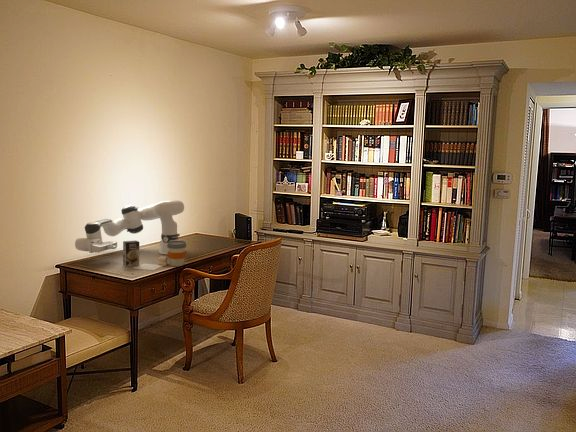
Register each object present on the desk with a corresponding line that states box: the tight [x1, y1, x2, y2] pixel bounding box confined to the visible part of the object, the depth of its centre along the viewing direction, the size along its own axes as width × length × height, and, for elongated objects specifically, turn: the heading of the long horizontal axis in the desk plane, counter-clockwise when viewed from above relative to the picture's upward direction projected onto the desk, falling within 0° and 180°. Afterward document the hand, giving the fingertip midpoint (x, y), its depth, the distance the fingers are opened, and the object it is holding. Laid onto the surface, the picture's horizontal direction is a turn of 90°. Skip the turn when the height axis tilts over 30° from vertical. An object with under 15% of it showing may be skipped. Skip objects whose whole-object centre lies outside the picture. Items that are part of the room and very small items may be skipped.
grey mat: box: [132, 263, 164, 271], centre depth 342 cm, size 14×14×1 cm
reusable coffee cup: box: [167, 240, 187, 267], centre depth 351 cm, size 13×13×15 cm
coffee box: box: [122, 240, 140, 268], centre depth 345 cm, size 9×6×16 cm
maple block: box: [157, 256, 168, 266], centre depth 351 cm, size 5×5×5 cm
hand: (115, 247), depth 348 cm, fingers closed
